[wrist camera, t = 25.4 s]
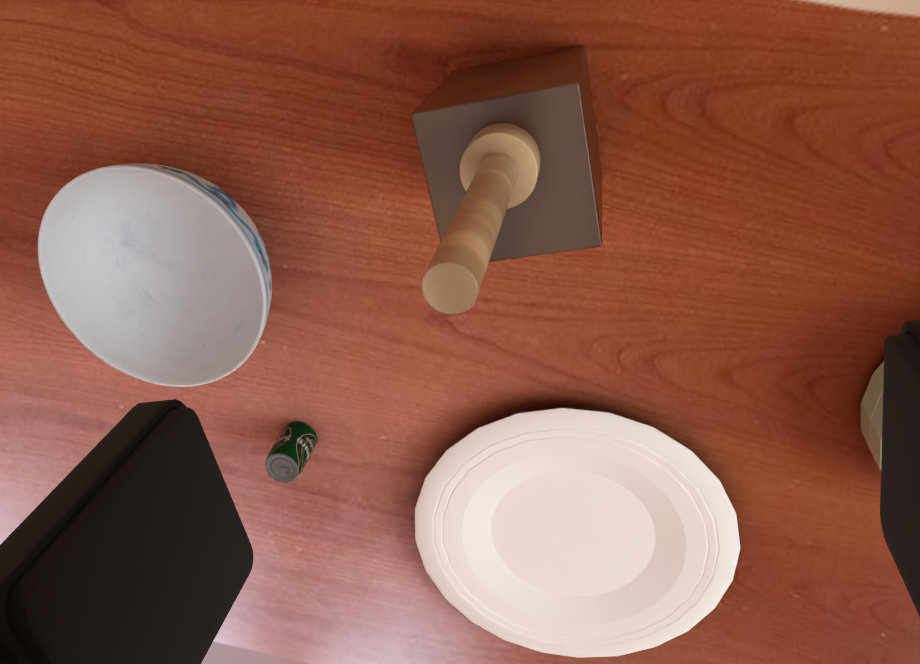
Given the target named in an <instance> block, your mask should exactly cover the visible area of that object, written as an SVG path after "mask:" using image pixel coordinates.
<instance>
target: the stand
mask: <svg viewBox="0 0 920 664" xmlns="http://www.w3.org/2000/svg"><path fill="white" fill-rule="evenodd" d="M411 117H412V122H413V126H414V130H415V134H416V139H417V143H418V147H419V152H420V156H421V160H422V164H423V169H424V173H425V177H426V182H427V186H428V190H429V194H430V199H431V203H432V207H433V212H434V216H435V220H436V224H437V229H438V233H439V237H440V242H441V241H442V239H443V237H444V235H445V233H446V231H447V229H448V227H449V225H450V223H451V221H452V219H453V217H454V215H455V213H456V211H457V209H458V207H459V205H460V203H461V201H462V199H463V197H464V195H465V193H466V191H465V189H464V187H463V185H462V182H461V178H460V162H461V158H462V156H463V153H464V152H465V150H466V148H467V147H468V145H469V143H470V142H471V140H472V138H473V137H474V136H475V135H476V134H477V133H478V132H479V131H480V130H482V129H483V128H485V127H487V126H489V125H492V124H496V123H509V124H513V125H516V126H518V127H520V128H522V129H524V130H525V131H527V132H528V133H529V134H530V135H531V136H532V137H533V139H534V140H535V142H536V144H537V146H538V148H539V151H540V156H541V165H540V171H539V174H538V178H537V182H536V185H535V188H534V189H533V191H532V193H531V194H530V196H529V197H528V198H527V199H526V200H525V201H523V202H522V203H521V204H519V205H517V206H515V207H512V208H509V209H507V210H506V213H505V216H504V219H503V222H502V225H501V228H500V230H499V233H498V236H497V239H496V242H495V245H494V248H493V251H492V254H491V257H490V260H489V262H492V261H499V260H506V259H514V258H521V257H528V256H535V255H543V254H550V253H557V252H564V251H572V250H579V249H586V248H594V247H600V246H602V171H601V163H600V156H599V149H598V141H597V134H596V126H595V119H594V111H593V104H592V97H591V89H590V82H589V74H588V67H587V59H586V52H585V46H579V47H574V48H569V49H564V50H559V51H554V52H549V53H544V54H539V55H534V56H529V57H524V58H519V59H514V60H509V61H504V62H499V63H494V64H489V65H484V66H479V67H474V68H468V69H463V70H458V71H454V72H452V73H451V74H450V75H449V76H448V77H447V79H446V80H445V81H444V82H443V83H442V84H441V85H440V86H439V87H438V88H437V89H436V90H435V91H434V92H433V93H432V94H431V95H430V96H429V97H428V98H427V99H426V100H425V101H424V102H423V103H422V104H421V105H420V106H419V107H418V108H417V109H416V110H415V111H414V112H413V113H412V114H411Z"/></svg>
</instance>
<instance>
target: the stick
mask: <svg viewBox="0 0 920 664" xmlns="http://www.w3.org/2000/svg"><path fill="white" fill-rule="evenodd" d="M540 165H541V156H540V151H539V148H538V146H537V144H536V142H535V140H534V139H533V137H532V136H531V135H530V134H529V133H528V132H527V131H525V130H524V129H522V128H520V127H518V126H516V125H513V124H509V123H496V124H492V125H489V126H487V127H485V128H483V129H482V130H480V131H479V132H478V133H477V134H476V135H475V136H474V137H473V138H472V140H471V142H470V143H469V145H468V147H467V148H466V150H465V152H464V153H463V156H462V158H461V162H460V178H461V182H462V185H463V187H464V189H465V191H466V193H465V195H464V197H463V199H462V201H461V203H460V205H459V207H458V209H457V211H456V213H455V215H454V217H453V219H452V221H451V223H450V225H449V227H448V229H447V231H446V233H445V235H444V237H443V239H442V241H441V243H440V245H439V247H438V249H437V250H436V252H435V254H434V256H433V258H432V260H431V262H430V264H429V266H428V268H427V270H426V272H425V274H424V276H423V279H422V293H423V295H424V298H425V299H426V301H427V302H428V304H429V305H430V306H431V307H433V308H434V309H435V310H437V311H439V312H442V313H445V314H458V313H462V312H464V311H466V310H468V309H469V308H470V307H471V306H472V305H473V304H474V303H475V301H476V299H477V296H478V293H479V290H480V287H481V284H482V281H483V278H484V275H485V272H486V269H487V266H488V263H489V260H490V257H491V254H492V251H493V248H494V245H495V242H496V239H497V236H498V233H499V230H500V228H501V225H502V222H503V219H504V216H505V213H506V210H507V209H509V208H512V207H515V206H517V205H519V204H521V203H522V202H523V201H525V200H526V199H527V198H528V197H529V196H530V194H531V193H532V191H533V189H534V188H535V185H536V182H537V178H538V174H539V171H540Z"/></svg>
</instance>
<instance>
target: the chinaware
mask: <svg viewBox="0 0 920 664" xmlns="http://www.w3.org/2000/svg"><path fill="white" fill-rule="evenodd" d="M38 260H39V267H40V272H41V276H42V279H43V283H44V286H45V288H46V291H47V293H48V296H49V298H50V300H51V302H52V304H53V306H54V308H55V309H56V311H57V313H58V314H59V316H60V317H61V319H62V320H63V322H64V323H65V324H66V326H67V327H68V328H69V330H70V331H71V332H72V333H73V334H74V335H75V336H76V338H77V339H78V340H79V341H80V342H81V343H82V344H83V345H84V346H85V347H87V348H88V349H89V350H90V351H91V352H92V353H94V354H95V355H96V356H97V357H99V358H100V359H102V360H103V361H104V362H106V363H107V364H109V365H111V366H112V367H114V368H116V369H118V370H119V371H121V372H123V373H125V374H128V375H130V376H132V377H135V378H137V379H140V380H143V381H146V382H150V383H154V384H158V385H164V386H173V387H189V386H198V385H203V384H207V383H211V382H214V381H216V380H219V379H221V378H223V377H225V376H227V375H229V374H230V373H232V372H233V371H235V370H236V369H237V368H238V367H240V366H241V365H242V364H243V363H244V362H245V361H246V360H247V359H248V357H249V356H250V355H251V353H252V352H253V351H254V349H255V347H256V346H257V344H258V342H259V340H260V338H261V336H262V333H263V331H264V328H265V325H266V322H267V319H268V315H269V310H270V305H271V297H272V274H271V266H270V261H269V257H268V253H267V250H266V247H265V244H264V242H263V240H262V237H261V235H260V233H259V231H258V229H257V228H256V226H255V224H254V223H253V221H252V220H251V218H250V217H249V216H248V214H247V213H246V212H245V211H244V209H243V208H242V207H241V206H240V205H239V204H238V203H237V202H236V201H235V200H234V199H233V198H232V197H231V196H230V195H228V194H227V193H226V192H225V191H223V190H222V189H220V188H219V187H218V186H216V185H215V184H213V183H211V182H210V181H208V180H206V179H204V178H202V177H200V176H198V175H195V174H193V173H190V172H188V171H185V170H181V169H178V168H174V167H170V166H164V165H158V164H146V163H131V164H119V165H112V166H106V167H102V168H98V169H95V170H91V171H89V172H86V173H84V174H82V175H80V176H78V177H76V178H75V179H73V180H72V181H70V182H69V183H67V184H66V185H65V186H64V187H63V188H62V189H61V190H60V191H59V192H58V193H57V194H56V195H55V196H54V198H53V199H52V201H51V202H50V204H49V205H48V207H47V209H46V211H45V213H44V216H43V219H42V222H41V225H40V230H39V236H38Z"/></svg>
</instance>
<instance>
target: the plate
mask: <svg viewBox="0 0 920 664" xmlns="http://www.w3.org/2000/svg"><path fill="white" fill-rule="evenodd" d="M415 541H416V544H417V547H418V550H419V552H420V555H421V558H422V561H423V564H424V567H425V570H426V572H427V573H428V575H429V576H430V578H431V579H432V580H433V582H434V583H435V585H436V586H437V588H438V589H439V590H440V592H441V593H442V595H443V596H444V598H445V599H446V600H447V601H449V602H450V603H451V604H452V605H453V606H454V607H455V608H457V609H458V610H459V611H460V612H461V613H462V614H463V615H465V616H466V617H467V618H468V619H469V620H470V621H471V622H473V623H475V624H476V625H478V626H480V627H482V628H484V629H485V630H487V631H489V632H491V633H492V634H494V635H496V636H498V637H500V638H501V639H503V640H506V641H509V642H512V643H515V644H518V645H521V646H524V647H527V648H530V649H533V650H536V651H538V652H543V653H550V654H557V655H564V656H571V657H578V658H582V657H606V656H620V655H624V654H628V653H633V652H637V651H641V650H645V649H649V648H653V647H656V646H658V645H660V644H662V643H664V642H667V641H669V640H671V639H673V638H675V637H677V636H679V635H681V634H683V633H685V632H687V631H689V630H690V629H691V628H692V627H693V626H695V625H696V624H697V623H698V622H699V621H700V620H702V619H703V618H704V617H705V616H706V615H708V614H709V613H710V612H711V611H712V610H713V609H715V607H716V606H717V604H718V602H719V601H720V599H721V598H722V596H723V595H724V593H725V592H726V590H727V588H728V587H729V585H730V584H731V582H732V581H733V577H734V573H735V569H736V565H737V560H738V556H739V552H740V540H739V532H738V524H737V516H736V512H735V510H734V508H733V506H732V504H731V502H730V500H729V498H728V496H727V494H726V492H725V490H724V488H723V486H722V484H721V482H720V480H719V478H718V477H717V476H716V475H715V474H714V473H713V472H712V471H711V470H710V469H709V468H708V467H707V466H706V464H705V463H704V462H703V461H702V460H701V459H700V458H699V457H698V456H697V455H696V454H695V453H694V452H693V451H692V450H691V449H690V448H688V447H687V446H685V445H683V444H682V443H680V442H678V441H677V440H675V439H674V438H672V437H670V436H669V435H667V434H665V433H664V432H662V431H661V430H659V429H657V428H656V427H654V426H652V425H649V424H646V423H643V422H640V421H637V420H634V419H631V418H628V417H625V416H622V415H618V414H615V413H612V412H609V411H600V410H590V409H580V408H570V407H556V408H548V409H540V410H532V411H524V412H517V413H514V414H512V415H509V416H506V417H503V418H501V419H498V420H495V421H493V422H490V423H487V424H485V425H482V426H479V427H477V428H476V429H475V430H473V431H472V432H470V433H469V434H468V435H466V436H465V437H463V438H462V439H461V440H459V441H458V442H456V443H455V444H454V445H452V446H451V447H449V448H448V449H447V450H446V451H445V452H444V454H443V455H442V456H441V458H440V459H439V460H438V462H437V463H436V464H435V465H434V467H433V468H432V469H431V471H430V472H429V473H428V475H427V476H426V478H425V480H424V483H423V486H422V489H421V492H420V495H419V498H418V501H417V504H416V507H415Z"/></svg>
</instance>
